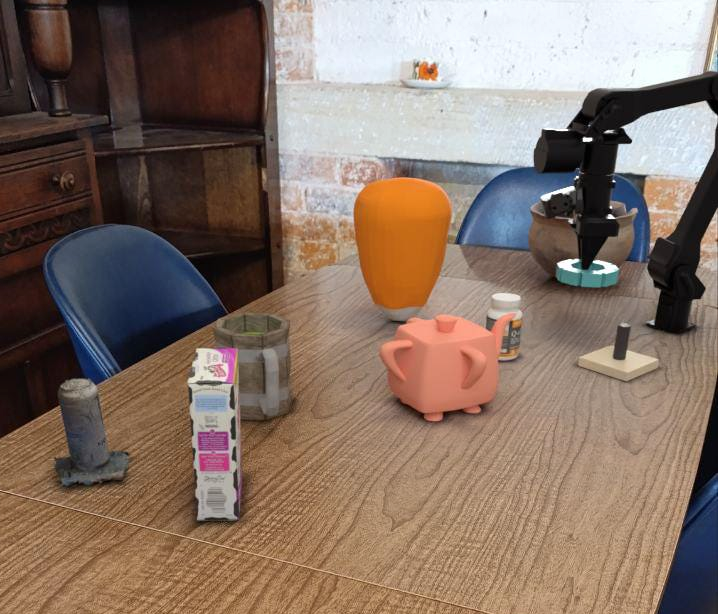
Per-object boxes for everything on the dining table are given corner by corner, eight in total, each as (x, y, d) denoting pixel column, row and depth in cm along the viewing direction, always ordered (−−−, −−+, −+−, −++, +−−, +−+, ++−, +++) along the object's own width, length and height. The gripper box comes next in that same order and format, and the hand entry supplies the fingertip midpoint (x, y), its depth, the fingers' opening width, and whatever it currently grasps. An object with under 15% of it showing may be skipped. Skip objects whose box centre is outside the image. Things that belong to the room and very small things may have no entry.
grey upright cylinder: (61, 493, 101) (45, 397, 96) (53, 465, 107) (38, 373, 102) (140, 480, 105) (129, 386, 99) (128, 453, 111) (117, 363, 105)
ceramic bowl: (639, 293, 178) (651, 218, 171) (532, 292, 178) (540, 216, 171) (612, 266, 198) (623, 197, 191) (516, 264, 198) (523, 195, 191)
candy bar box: (242, 521, 96) (234, 382, 89) (196, 523, 96) (184, 383, 88) (245, 474, 106) (238, 345, 98) (203, 475, 106) (193, 346, 98)
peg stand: (609, 353, 146) (615, 312, 143) (657, 368, 141) (665, 326, 137) (577, 365, 141) (583, 323, 138) (626, 381, 135) (633, 338, 132)
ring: (579, 268, 154) (581, 256, 153) (627, 280, 148) (629, 267, 147) (544, 277, 149) (546, 264, 147) (592, 290, 142) (594, 277, 141)
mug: (210, 395, 128) (204, 316, 122) (281, 387, 131) (279, 309, 125) (235, 440, 115) (230, 353, 109) (314, 429, 118) (313, 344, 112)
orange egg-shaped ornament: (337, 328, 156) (337, 182, 144) (372, 302, 170) (374, 167, 158) (429, 341, 150) (437, 190, 139) (457, 314, 164) (467, 174, 153)
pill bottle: (517, 363, 142) (523, 303, 137) (482, 360, 143) (487, 300, 138) (518, 351, 147) (525, 293, 142) (484, 348, 148) (489, 290, 143)
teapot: (375, 419, 121) (377, 328, 115) (400, 379, 135) (403, 295, 128) (495, 434, 117) (505, 341, 111) (509, 391, 131) (518, 306, 125)
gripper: (540, 162, 152) (531, 253, 160) (554, 181, 136) (542, 280, 143) (605, 164, 152) (592, 255, 159) (626, 183, 135) (611, 282, 143)
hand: (583, 267), depth 151 cm, fingers closed on ring, 2 cm apart
